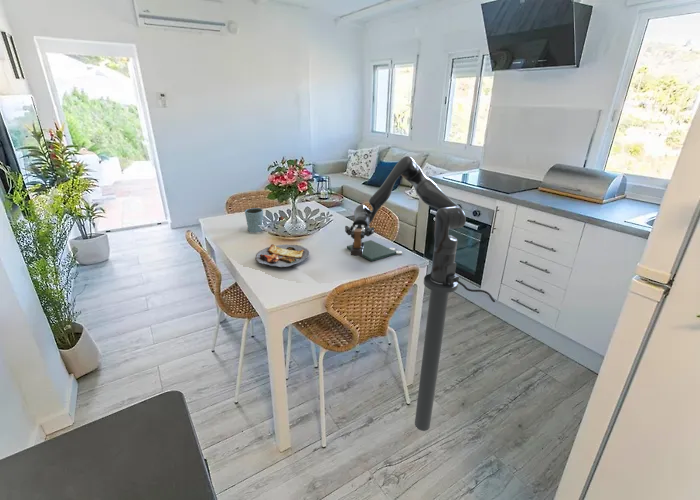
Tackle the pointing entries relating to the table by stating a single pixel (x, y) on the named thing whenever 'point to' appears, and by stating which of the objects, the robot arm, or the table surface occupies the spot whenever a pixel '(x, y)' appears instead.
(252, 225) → the grey-green cup
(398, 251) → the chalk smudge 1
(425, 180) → the robot arm
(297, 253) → the food plate
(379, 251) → the slate
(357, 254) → the brown block with base
